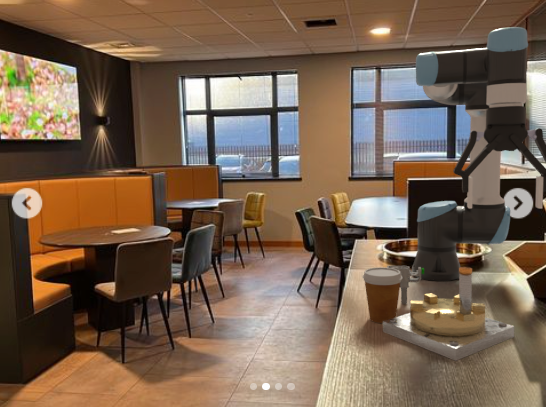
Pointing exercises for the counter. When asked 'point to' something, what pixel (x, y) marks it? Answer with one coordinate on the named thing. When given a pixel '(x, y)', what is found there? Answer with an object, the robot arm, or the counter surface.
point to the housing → (449, 337)
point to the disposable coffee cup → (382, 292)
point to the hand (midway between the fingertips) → (503, 207)
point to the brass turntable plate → (450, 311)
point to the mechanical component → (407, 279)
